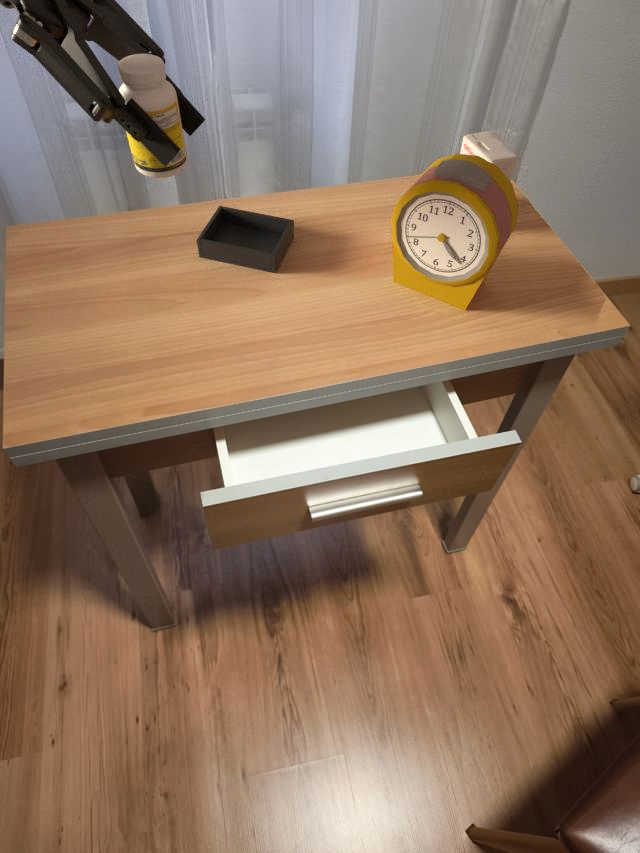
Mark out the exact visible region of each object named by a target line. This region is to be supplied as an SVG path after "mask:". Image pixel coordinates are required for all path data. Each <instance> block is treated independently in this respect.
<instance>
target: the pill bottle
mask: <svg viewBox="0 0 640 853" xmlns="http://www.w3.org/2000/svg"><path fill="white" fill-rule="evenodd" d="M117 70H118V74H119V79H120V81H121V83H122V84H121V85H120V86H119V88H118V90H119V91H120V93H121V94H122V96H123V97H124V99H125V105H126V104H127V103H128V101H129V100H130V99H131V98H132V99H133V100H134V101H135V102H136V103H137V104H138V105H139V106H140V107H141V108H142V109H143V110H144V111H145V112H146V113H147V114H148V115H149V117H150V118H151V119H152V120H153V121H154V122H155V123H156V124H157V125H158V126H159V127H160V128H161V129H162V130H163V131H164V132H165V133H166V134H167V135H168V136H169V137H170V138H171V140H172V141H173V142H174V143H175V144H176V145H177V146H178V147H179V148H180V149H181V150H180V151H179V153H178V154H177V155H176V156H175V157H174V158H173V159H172V160H171V161H170V162H169V163H168V164H167V165H166V166H164V165H163V164H162V163H161V162H160V161H159V160H158V159H157V158H156V157H155V156H154V155H153V154H152V153H151V152H150V151H149V150H148V149H147V148H146V147H145V146H144V145H143V144H142V143H141V142H140V143H139V142H138V141H136V140H135V139H134V138H133V137H132V136H131V135H130V134H129V133H128V132H127V131H126V130H125V132H126V138H127V140H128V144H129V148H130V152H131V156H132V157H131V158H132V160H133V163H134V167H135V169H136V170H137V172H138V173H140V174H141V175H143V176H145V177H149V178H155V179H166V178H167V179H168V178H171V177H174V176H177V175H178V174H180V173H182V172H183V171H184V170H185V169H186V168H187V165H188V154H187V147H186V141H185V135H184V129H183V128H182V123H181V117H180V111H179V105H178V99H177V94H176V91H175V88H174V87H173V86H172V84H171V83H170V82H168V81H167V80H165V79H166V74H167V73H166V67H165V64H164V62H163V60H162V59H161V58H160V57H158V56H155V55H151V54H135V55H130V56H127V57H125V58H123V59H122V60H120V61H118V63H117Z"/></svg>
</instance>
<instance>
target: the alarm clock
mask: <svg viewBox="0 0 640 853" xmlns="http://www.w3.org/2000/svg"><path fill="white" fill-rule="evenodd" d="M518 213H519V201H518V198H517V196H516V192H515V188H514V186H513V183H512V181H511V182H510V181H509V180H508V178H507V177H506V176H505V175H504V173H503V172H502V171H501V170H500V169H499V167H498V166H496V165H494V164H492V163H490V162H489V161H487V160H485V159H483V158H481V157H479V156H476V155H466V154H460V153H453V154H450V155H448V156H444V157H442V158H438V159H436V160H435V161H434V162H433V163H432V164H430V165H429V166H428V167H427V169H425V170H424V171H423V172H422V173H421V174H420V175H419V177H418V178H416V180H415V181H414V182H413V184H411V185H410V186H409V188H408V189H407V190H406V191H405V192H404V193H403V194H402V196H400V198H399V199H398V200H397V202H396V204H395V207H394V210H393V213H392V215H391V218H390V223H391V224H390V226H391V240H392V241H391V243H392V246H391V247H392V282H393V283H395V284H396V285H397V284H398V285H400V286H403V287H405V288H407V289H411V290H412V291H415V292H418V293H421V294H423V295H425V296H428V297H430V298H433V299H436V300H438V301H441V302H444V303H446V304H449V305H451V306H454V307H456V308H459V309H461V310H464V311H466V309H467V308H468V306H469V305H470V304H471V302H472V300H473V298H475V296H476V294H477V292H478V291H479V289H480V288H481V286H482V285H483V283H484V282H485V280H486V278H487V276H488V274H489V272H490V271H491V269H492V268H493V266H494V264H495V263H496V261H497V259H498V257H499V256H500V254H501V252H502V250H503V249H504V247H505V245H506V244H507V242H508V240H509V238H510V237H511V235H512V233H513V232H514V231H515V229H516V226H517V220H518Z"/></svg>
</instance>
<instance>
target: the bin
mask: <svg viewBox="0 0 640 853" xmlns="http://www.w3.org/2000/svg"><path fill="white" fill-rule="evenodd" d="M294 220H295V219H290V218H285V217H279V216H274V215H269V214H264V213H259V212H254V211H249V210H244V209H238V208H235V207H230V206H229V207H228V206H223V205H219V206H218V207H217V208H216V210H215V212H214V213H213V215H212V216H211V218H210V219H209V221H208V222H207V224H206V225H205V227H204V228H203V229H202V231H201V233H200V234H199V235H198V237H197V239H196V246H197V252H198V257H199V258H200V259H201V258H202V259H206V260H210V261H216V262H219V263H225V264H229V265H234V266H239V267H243V268H244V267H245V268H249V269H253V270H259V271H262V272H268V273H272V274H277V272H278V270H279V268H280V266H281V264H282V262H283V261H284V258H285V256H286V254H287V252H288V250H289V248H290V246H291V244H292V242H293V240H294V238H295V221H294Z"/></svg>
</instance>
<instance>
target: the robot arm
mask: <svg viewBox="0 0 640 853" xmlns="http://www.w3.org/2000/svg"><path fill="white" fill-rule="evenodd" d="M0 5H1V6H2V7H3V8H5V9H9V10H11V9H12V10H13V9H15V11H16V13H17V14H18V18H17V20H16V21H15V24H14V26H13V28H12V30H11V33H10V38H11V40H12V41H13V42H14V43H15V44H17V45H18V46H19V47H21V49H23V50H24V51H26V52H27V53H28V54H30V55H32V57H34V58H35V59H36V60H37V62H39V64H40V65H41V66H42V67H43V68H44V69H45V70H46V72H48V73H49V74H50V76H51V77H52V78H54V80H55V81H56V82H57V83H58V84H59V85H60V86H61V87H62V88H63V89H64V90H65V91H66V93H67V94H68V95H69V96H70V97H71V98H72V99H73V100H74V102H75V103H77V104H78V106H80V108H81V109H82V110H83V111H84V113H86V114H87V115H88V117H89V118H91V119H92V120H93V121H94V122H96V123H99V122H101V120H102V121H103V122H104V123H105V124H111V123H112V122H113V121H116V123H117V124H118V125H120V127H121V128H122V129H123V130H124V131H125V132H126V131H127V132H128V133H129V134H130V135H131V136H132V137H133V138H134V139H135V140H136V141H138V142H139V143H140V142H141V143H142V144H143V145H144V146H145V147H146V148H147V149H148V150H149V151H150V152H151V153H152V154H153V155H154V156H155V157H156V158H157V159H158V160H159V161H160V162H161V163H162V164H163V165H164V166H166V165H167V164H168V163H169V162H170V161H171V160H172V159H173V158H174V157H175V156H176V155H177V154H178V153H179V151H180V150H181V149H180V148H179V147H178V146H177V145H176V144H175V143H174V142H173V141H172V140H171V138H170V137H169V136H168V135H167V134H166V133H165V132H164V131H163V130H162V129H161V128H160V127H159V126H158V125H157V124H156V123H155V122H154V121H153V120H152V119H151V118H150V117H149V115H148V114H147V113H146V112H145V111H144V110H143V109H142V108H141V107H140V106H139V105H138V104H137V103H136V102H135V101H134V100H133V99H132V98H131V99H130V100H129V101H128V103H127V104H126V105H125V99H124V97H123V96H122V94H121V93H120V91H119V88H118V87H117V85H116V84H115V82H114V81H113V80H112V78H111V76H110V75H109V74H108V72H107V70H106V69H105V67H104V66H103V65H102V63H101V61H100V60H99V59H98V57H97V56H96V54H95V53H94V51H93V49H91V47H90V45H89V44H88V42H93V43H95V44H96V45H98V47H100V48H101V49H102V50H104V51H105V52H106V53H108V54H109V55H110V56H112V57H113V58H115V59H116V60H117V61H118V62H119V61H120V60H122V59H123V58H125V57H127V56H130V55H135V54H151V55H155V56H158V57H160V58H161V59H162V60H163V62H164V65H165V64H166V58H165V52H164V50H163V49H162V48H161V47H160V46H159V44H158V43H157V42H155V40H154V39H152V37H151V36H150V35H149V33H147V32H146V31H145V30H144V29H143V28H142V27H141V25H139V24H138V22H137V21H135V19H134V18H133V17H132V16H131V15H130V14H129V13H128V12H127V11H126V10H125V9H124V8H123V7H122V6H121V5H120V3H119V2H117V1H116V0H0ZM165 80H167V81H168V82H170V83H171V84H172V86H173V87H174V88H175V91H176V94H177V99H178V105H179V111H180V117H181V123H182V129H183V132H185V133H186V135H188V136H189V137H191V136H192V135H194V133H195V132H196V131H197V130H198V129H199V128H200V127H201V125H203V124H204V122H205V121H206V118H205V117H204V116H203V115H202V114H201V113H200V111H199V110H197V108H196V107H195V106H194V105H193V104H192V103H191V102H190V100H189V99H188V98H187V97H186V96H185V95H184V93H183V91H182V90H181V89H180V88H179V86H178V85H177V84H176V83H175V82H174V81H173V80H172V78H170V77H169V75H168V74H167V73H166V79H165ZM94 102H95V103H94ZM127 132H126V133H127Z"/></svg>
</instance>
